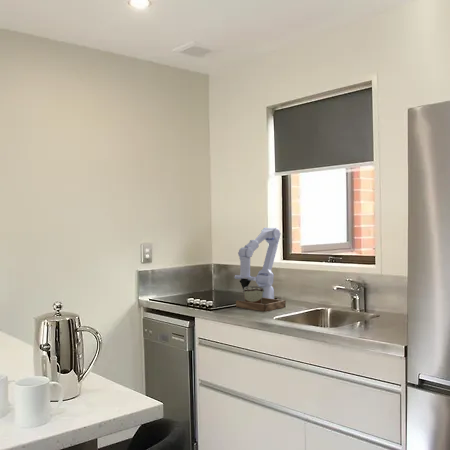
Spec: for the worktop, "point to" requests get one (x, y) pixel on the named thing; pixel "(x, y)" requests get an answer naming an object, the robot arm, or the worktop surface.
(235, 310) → the worktop surface
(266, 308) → the wooden tray
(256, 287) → the food container
